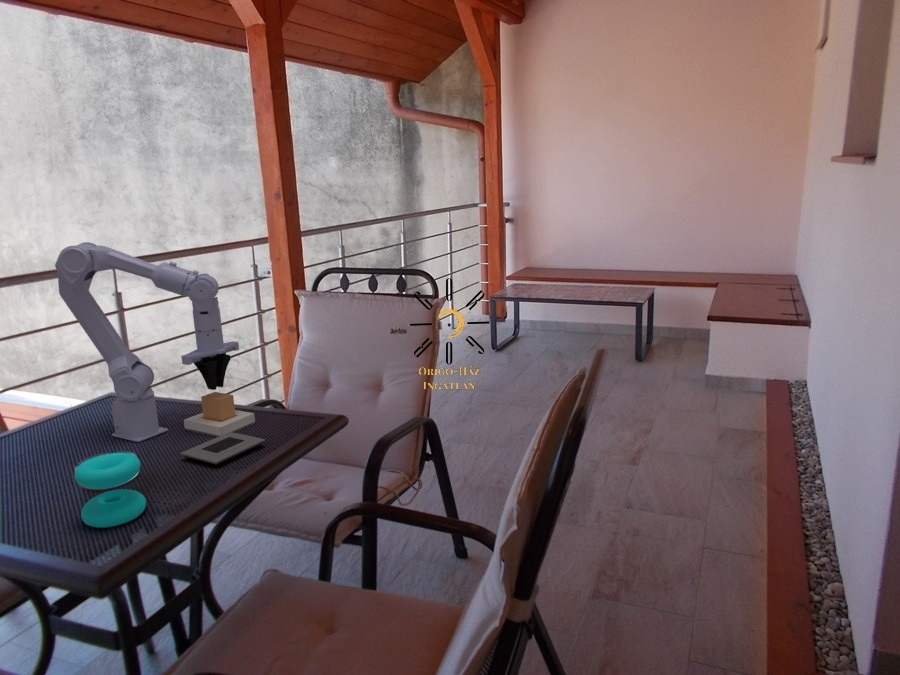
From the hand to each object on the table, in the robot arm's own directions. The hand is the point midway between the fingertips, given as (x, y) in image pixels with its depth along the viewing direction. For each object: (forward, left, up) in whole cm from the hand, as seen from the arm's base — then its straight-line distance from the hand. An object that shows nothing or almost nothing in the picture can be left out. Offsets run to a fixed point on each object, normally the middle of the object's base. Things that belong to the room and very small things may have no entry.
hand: (215, 387), depth 157 cm
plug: (0, 0, -9) cm, 9 cm away
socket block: (0, 0, -9) cm, 9 cm away
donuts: (+18, -39, -10) cm, 44 cm away
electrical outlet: (+13, -11, -10) cm, 20 cm away
